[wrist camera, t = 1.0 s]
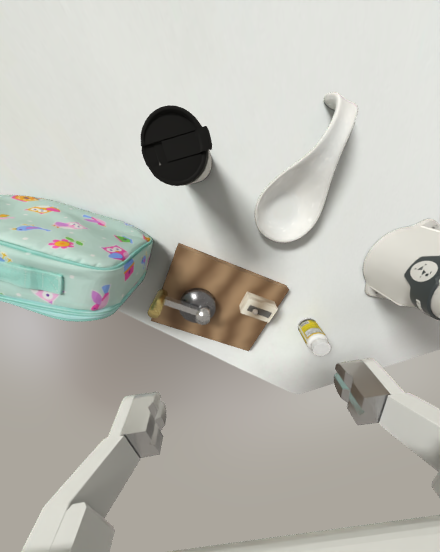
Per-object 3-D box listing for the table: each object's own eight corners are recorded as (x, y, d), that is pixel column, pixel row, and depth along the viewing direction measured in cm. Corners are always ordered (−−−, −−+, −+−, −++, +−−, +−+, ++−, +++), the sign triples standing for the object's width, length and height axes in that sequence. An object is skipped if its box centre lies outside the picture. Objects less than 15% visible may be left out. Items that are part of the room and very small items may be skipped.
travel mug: (217, 177, 37) (219, 176, 19) (182, 186, 37) (151, 193, 19) (208, 136, 34) (200, 91, 16) (171, 147, 35) (123, 114, 17)
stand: (286, 285, 47) (296, 300, 41) (247, 345, 55) (251, 365, 49) (178, 242, 42) (173, 253, 36) (153, 315, 50) (145, 333, 44)
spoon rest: (292, 245, 43) (306, 257, 37) (242, 226, 41) (247, 235, 35) (364, 117, 34) (399, 102, 27) (303, 83, 32) (325, 59, 25)
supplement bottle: (312, 333, 53) (328, 358, 46) (295, 331, 53) (308, 357, 45) (318, 318, 51) (336, 342, 44) (300, 316, 51) (315, 340, 43)
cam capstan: (221, 295, 45) (222, 317, 38) (207, 321, 48) (206, 346, 41) (164, 274, 43) (153, 294, 35) (153, 304, 46) (142, 327, 39)
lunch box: (19, 237, 41) (-155, 291, 22) (14, 184, 37) (-208, 192, 17) (151, 273, 45) (103, 345, 26) (160, 229, 41) (111, 276, 22)
